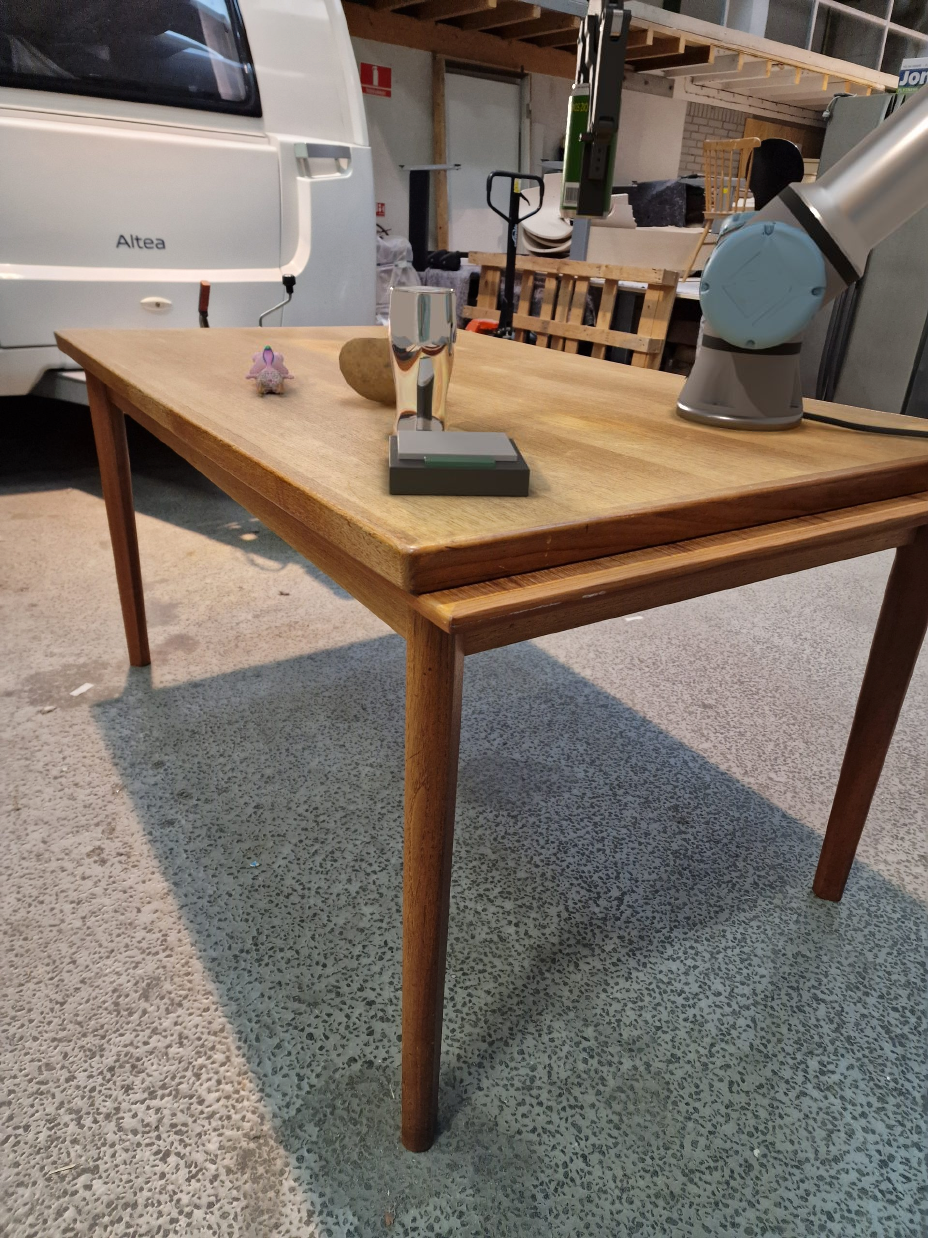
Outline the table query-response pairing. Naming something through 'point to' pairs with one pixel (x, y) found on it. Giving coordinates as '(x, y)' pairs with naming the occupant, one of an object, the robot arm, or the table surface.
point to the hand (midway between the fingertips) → (584, 215)
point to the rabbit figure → (269, 371)
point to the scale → (456, 464)
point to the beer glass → (422, 354)
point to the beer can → (574, 155)
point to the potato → (369, 368)
